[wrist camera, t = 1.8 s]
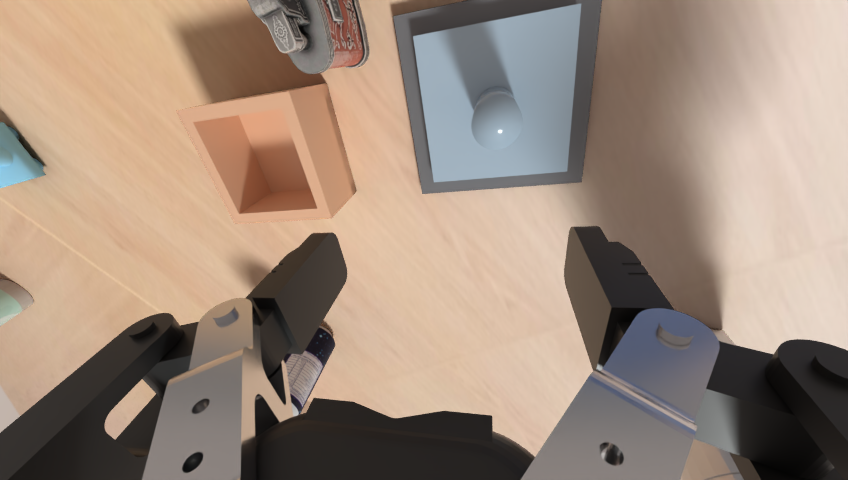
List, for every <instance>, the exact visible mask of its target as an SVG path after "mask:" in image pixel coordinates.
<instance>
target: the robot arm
mask: <svg viewBox="0 0 848 480" xmlns="http://www.w3.org/2000/svg"><path fill="white" fill-rule="evenodd" d="M564 277H565V285H566V288H567V291H568V295H569V298H570V301H571V304H572V307H573V310H574V313H575V316H576V319H577V322H578V325H579V328H580V331H581V334H582V338H583V341H584V344H585V347H586V350H587V353H588V356H589V359H590V362H591V365H592V368H593V372H592V373H591V374H590V376H589V377H588V379H587V380H586V382H585V383H584V385H583V386H582V388H581V389H580V391H579V392H578V394H577V395H576V397H575V398H574V400H573V401H572V403H571V404H570V406H569V407H568V409H567V410H566V412H565V413H564V415H563V416H562V418H561V419H560V421H559V422H558V424H557V425H556V427H555V428H554V430H553V431H552V433H551V434H550V436H549V437H548V439H547V440H546V442H545V444H544V445H543V447H542V448H541V450H540V451H539V453H538V454H537V456H536V457H534V456H533V455H532V454H531V453H530V452H528V451H527V450H526V449H525V448H523V447H522V446H520V445H519V444H517V443H516V442H514V441H513V440H511V439H509V438H507V437H505V436H503V435H501V434H498V433H496V432H493V431H492V416H490V415H480V414H470V413H460V412H449V411H440V412H434V413H428V414H422V415H416V416H410V417H403V418H391V417H388V416H386V415H383V414H381V413H378V412H376V411H374V410H371V409H369V408H367V407H364V406H362V405H359V404H357V403H355V402H349V401H339V400H329V399H319V398H313V400H312V402H311V404H310V406H309V409H308V410H307V413H304V414H300V415H297V416H293V411H292V404H291V397H290V390H289V382H288V375H287V368H286V364H285V362H284V360H283V359H284V357H285V356H286V354H287V353H288V354H303V353H304V351H305V349H306V348H307V346H308V344H309V343H310V341H311V339H312V338H313V336H314V334H315V333H316V331H317V329H318V328H319V326H320V324H321V323H322V321H323V319H324V318H325V316H326V314H327V313H328V311H329V309H330V308H331V306H332V304H333V303H334V301H335V299H336V298H337V296H338V294H339V293H340V291H341V289H342V288H343V286H344V284H345V282H346V279H347V267H346V264H345V261H344V258H343V254H342V251H341V248H340V245H339V242H338V239H337V237H336V235H335V234H334V233H313V234H311V235H310V236H309V237H308V238H307V239H306V240H305V241H304V242H303V243H302V244H301V245H300V247H298V248H297V249H295V250H294V251H292V252H290V253H289V254H287V255H286V256H285V257H284V258H283V259H282V260H281V262H280V263H279V265H277V266H276V267H275V268H274V269H273V270H272V271H271V273H269V274H268V275H267V276H266V277H265V278H264V279H263V280H262V281H261V282H260V283H259V284H258V286H257V287H256V288H255V289H254V290H253V291H252V292H251V293H250V294H249V295H248V296H247V297H246V298H236V299H231V300H228V301H226V302H223V303H221V304H219V305H217V306H215V307H214V308H212V309H211V310H209V311H208V312H207V313H206V314H205V315H204V316H203V317H202V318H201V319H200V321H199V322H195V323H191V324H186V325H181V326H180V325H179V324H178V322H177V321H176V320H175V318H174V317H173V316H172V315H171V314H169V313H160V314H156V315H152V316H149V317H147V318H144V319H142V320H140V321H138V322H136V323H135V324H133V325H131V326H130V327H128V328H127V329H126V330H124V331H123V332H122V333H121V334H119V335H118V336H117V337H116V338H114V339H113V340H112V341H111V342H110V343H108V344H107V345H106V346H105V347H104V348H102V349H101V350H100V351H99V352H98V353H96V354H95V355H94V356H93V357H91V358H90V359H89V360H88V361H87V362H85V363H84V364H83V365H82V366H81V367H79V368H78V369H77V370H76V371H75V372H73V373H72V374H71V375H70V376H69V377H67V378H66V379H65V380H64V381H62V382H61V383H60V384H59V385H58V386H56V387H55V388H54V389H53V390H52V391H50V392H49V393H48V394H47V395H46V396H44V397H43V398H42V399H41V400H39V401H38V402H37V403H36V404H35V405H33V406H32V407H31V408H30V409H29V410H27V411H26V412H25V413H24V414H23V415H21V416H20V417H19V418H18V419H16V420H15V421H14V422H13V423H12V424H10V425H9V426H8V427H7V428H6V429H4V430H3V431H2V432H1V433H0V480H848V351H847V350H845V349H842V348H839V347H836V346H833V345H830V344H826V343H822V342H817V341H812V340H798V339H797V340H789V341H786V342H784V343H782V344H781V345H780V346H779V347H778V349H777V350H776V352H775V353H774V355H773V354H769V353H765V352H761V351H756V350H752V349H748V348H744V347H740V346H736V345H735V344H734V343H733V341H732V340H731V339H730V338H729V337H728V335H727V334H726V333H725V332H724V331H723V330H713V329H710V328H708V327H707V326H706V325H705V324H703V323H702V322H700V321H699V320H697V319H695V318H693V317H691V316H689V315H687V314H684V313H681V312H678V311H675V310H674V309H673V307H672V306H671V305H670V303H669V302H668V300H667V299H666V297H665V296H664V295H663V293H662V292H661V290H660V289H659V288H658V286H657V285H656V283H655V282H654V281H653V279H652V278H651V276H650V275H648V272H647V271H646V269H645V268H644V266H641V262H640V261H639V259H638V258H637V256H636V255H635V254H634V252H633V251H631V250H630V249H628V248H627V247H625V246H624V245H622V244H621V243H619V242H608V240H607V239H606V237H605V235H604V234H603V232H602V230H601V229H600V227H598V226H588V227H571V228H570V231H569V237H568V245H567V252H566V260H565V268H564ZM141 379H143V380H144V381H145V382H146V383H147V384H148V385H149V386H150V387H151V388H152V389H153V391H154V392H155V393H156V395H155V396H154V397H153V398H152V399H151V401H150V402H149V403H148V404H147V405H146V406H145V407H144V408H143V409H142V411H141V412H140V413H139V414H138V415H137V416H136V417H135V418H134V420H133V421H132V422H131V423H130V424H129V425H128V426H127V427H126V429H125V430H124V431H123V432H122V433H121V434H120V435H119V436H118V437H117V439H116V440H114V439H113V438H112V437H111V436H109V435H108V434H107V433H106V431H105V428H104V424H105V420H106V417H107V416H108V414H109V412H110V411H111V410H112V409H113V408H114V407H115V406H116V405H117V404H118V403H119V402H120V401H121V400H122V399H123V398H124V397H125V396H126V395H127V394H128V392H129V391H130V390H131V389H132V388H133V387H134V386H135V385H136V384H137V383H138V382H139V381H140V380H141Z"/></svg>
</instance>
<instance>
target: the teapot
mask: <svg viewBox="0 0 848 480" xmlns="http://www.w3.org/2000/svg"><path fill="white" fill-rule="evenodd" d="M18 140H19V135H18V134H17V132H16V131H15V130H14V129H12V128H11V127H7V126H6V124H5V123H4V122H0V188H3V187H6V186H9V185H13V184H16V183H20V182H23V181H27V180H30V179H34V178H37V177H41V176H44V175H46V174H45V173H44V172H43V171H42V170H43V165H42V164H41V163H40V162H39V161H38V160H37V159H35V158H32V157H31V156H30V154H29V153H28V152H27V151H26V149H25V148H24V147H23V146H22V144H21V143H20V142H19V141H18Z"/></svg>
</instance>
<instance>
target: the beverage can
mask: <svg viewBox="0 0 848 480" xmlns="http://www.w3.org/2000/svg"><path fill="white" fill-rule="evenodd" d="M334 347H335V342H334V339H333V337H332V334H331V333H330V331H329V330H328V329H326V328H325V327H323V326H321V325H320V326H319V328H318V329H317V331H316V333H315V334H314V336H313V338H312V339H311V341H310V343H309V344H308V346H307V348H306V349H305V351H304V353H303V354H288V353H287V354H286V356H285V357H284V359H283V360H284V362H285V364H286V368H287V375H288V382H289V390H290V397H291V404H292V411H293V416H297V415H300V413H301V411H302V409H303V407H304V405H305V403H306V401H307V399H308V397H309V396H310V394H311V392H312V390H313V388H314V386H315V384H316V382H317V380H318V378H319V376H320V374H321V372H322V370H323V368H324V366H325V364H326V363H327V361H328V359H329V357H330V355H331V353H332V351H333V349H334Z"/></svg>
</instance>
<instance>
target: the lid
mask: <svg viewBox="0 0 848 480" xmlns="http://www.w3.org/2000/svg"><path fill="white" fill-rule="evenodd" d="M580 14H581V4H575V5H570V6H565V7H560V8H555V9H550V10H545V11H540V12H534V13H529V14H524V15H519V16H514V17H509V18H504V19H499V20H493V21H488V22H483V23H478V24H473V25H468V26H463V27H458V28H453V29H447V30H442V31H437V32H432V33H427V34H422V35H417V36H413V40H414V47H415V54H416V61H417V68H418V75H419V82H420V89H421V96H422V103H423V110H424V117H425V124H426V131H427V138H428V145H429V152H430V159H431V166H432V173H433V180H434V182H445V181H457V180H470V179H482V178H494V177H506V176H518V175H531V174H543V173H555V172H567V168H568V156H569V144H570V132H571V120H572V108H573V97H574V85H575V73H576V61H577V49H578V37H579V26H580Z"/></svg>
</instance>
